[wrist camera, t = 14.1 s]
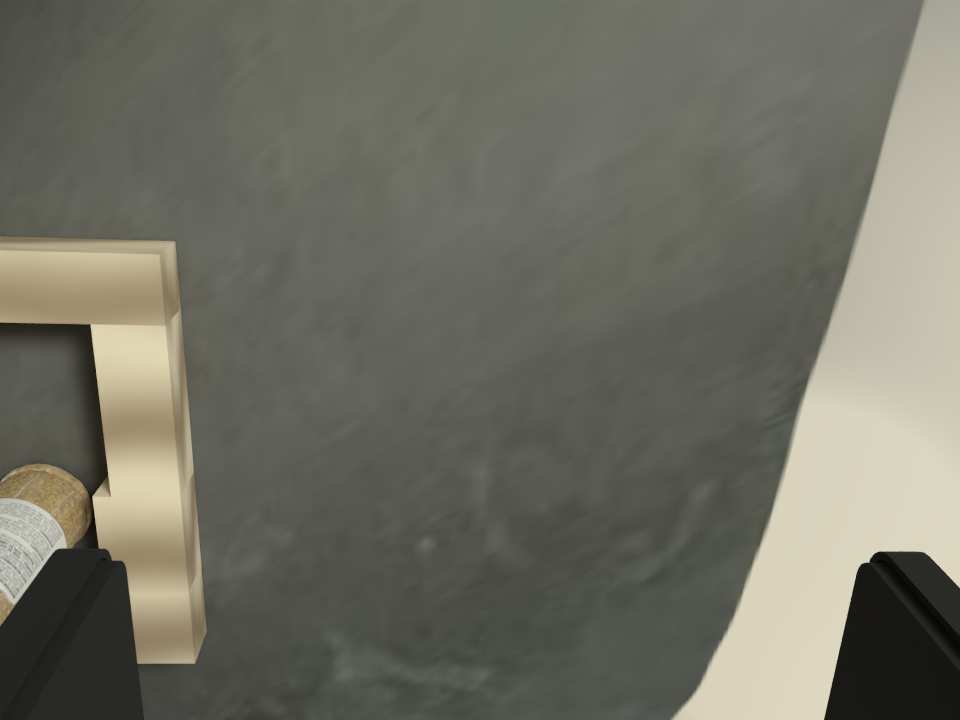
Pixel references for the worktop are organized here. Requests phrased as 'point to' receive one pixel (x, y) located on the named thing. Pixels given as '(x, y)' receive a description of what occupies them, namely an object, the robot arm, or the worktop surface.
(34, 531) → the spice jar
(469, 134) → the worktop surface
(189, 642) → the keyhole board
